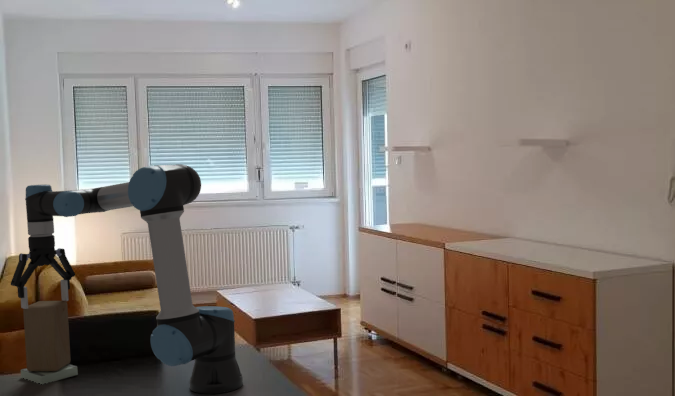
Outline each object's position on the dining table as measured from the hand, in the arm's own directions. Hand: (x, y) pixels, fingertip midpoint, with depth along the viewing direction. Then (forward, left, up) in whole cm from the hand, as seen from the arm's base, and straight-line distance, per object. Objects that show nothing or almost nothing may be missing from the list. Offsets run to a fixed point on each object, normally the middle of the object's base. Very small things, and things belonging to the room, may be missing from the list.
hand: (45, 304), depth 234 cm
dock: (0, 0, -22) cm, 22 cm away
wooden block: (0, 0, -20) cm, 20 cm away
